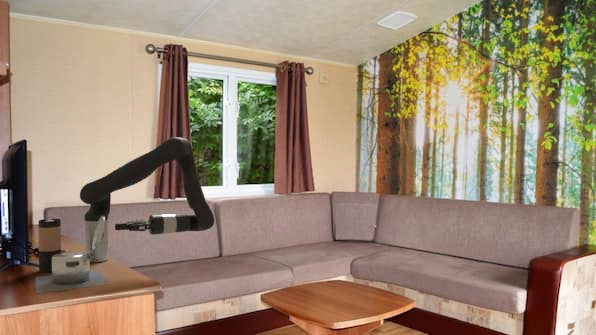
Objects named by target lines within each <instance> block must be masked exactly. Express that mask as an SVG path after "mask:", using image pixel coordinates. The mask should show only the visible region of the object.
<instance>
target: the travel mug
mask: <svg viewBox="0 0 596 335" xmlns="http://www.w3.org/2000/svg"><path fill="white" fill-rule="evenodd" d="M61 222H62V220H61V219H60V218H52V219H50V220H48V219H45V218H44V219H39V220H38V268H39V270H38V271H39V273H41V274H52V256H53V255H56V254H60V253H62V229H61V228H62V224H61Z"/></svg>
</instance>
